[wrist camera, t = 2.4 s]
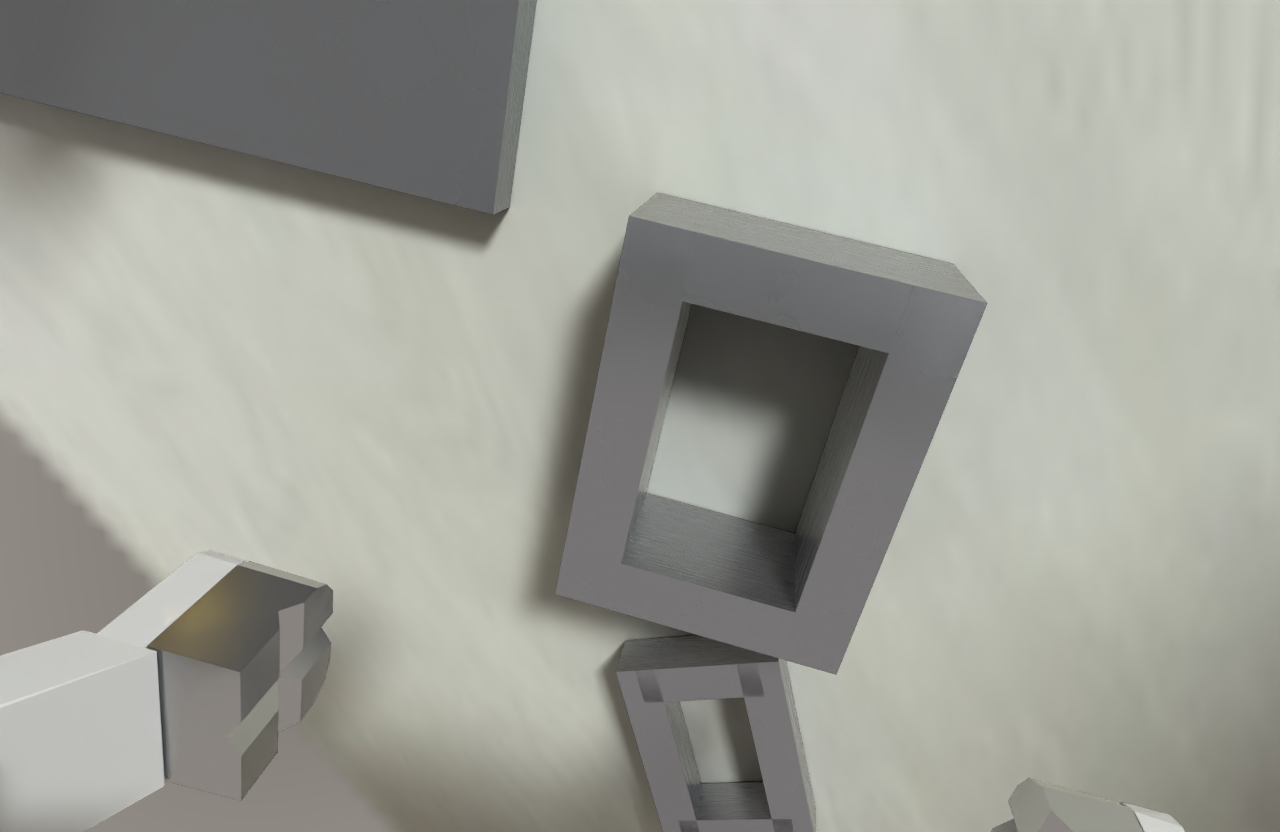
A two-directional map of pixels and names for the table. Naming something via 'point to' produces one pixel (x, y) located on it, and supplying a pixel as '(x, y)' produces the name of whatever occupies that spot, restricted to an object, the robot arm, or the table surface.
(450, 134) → the plate
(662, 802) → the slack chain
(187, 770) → the robot arm
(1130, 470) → the table surface
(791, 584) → the end link
